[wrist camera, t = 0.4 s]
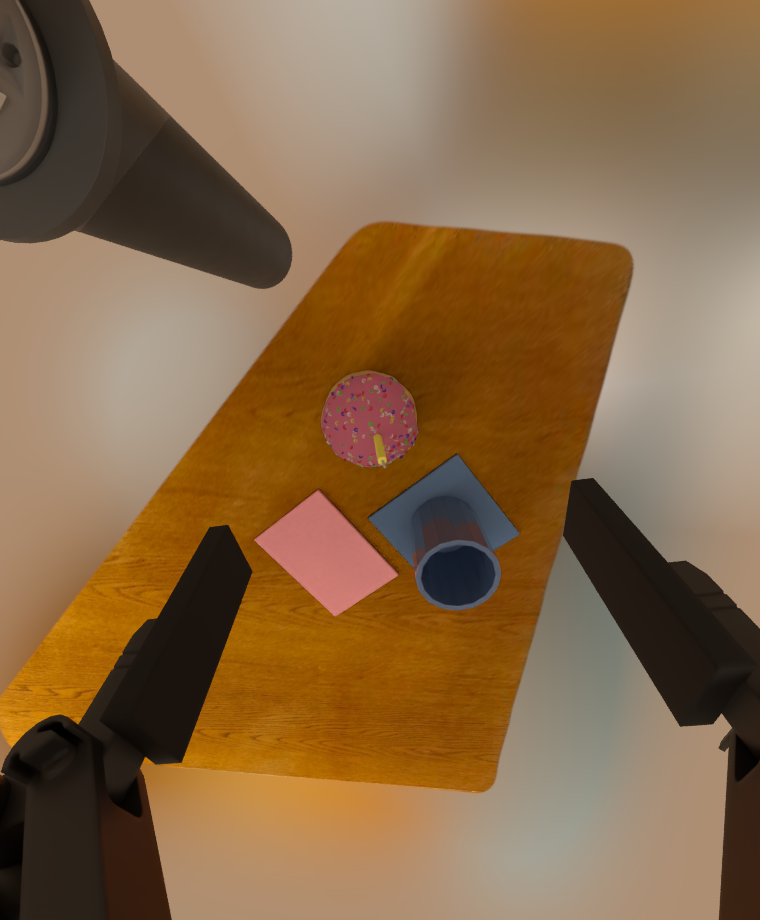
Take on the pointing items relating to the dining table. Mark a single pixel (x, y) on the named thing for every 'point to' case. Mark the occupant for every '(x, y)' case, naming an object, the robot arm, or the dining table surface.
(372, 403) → the cupcake
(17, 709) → the dining table surface
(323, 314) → the dining table surface
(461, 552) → the blue cup
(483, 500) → the blue mat
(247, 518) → the dining table surface
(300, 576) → the rose mat
